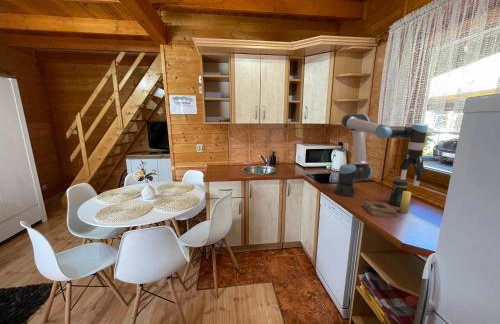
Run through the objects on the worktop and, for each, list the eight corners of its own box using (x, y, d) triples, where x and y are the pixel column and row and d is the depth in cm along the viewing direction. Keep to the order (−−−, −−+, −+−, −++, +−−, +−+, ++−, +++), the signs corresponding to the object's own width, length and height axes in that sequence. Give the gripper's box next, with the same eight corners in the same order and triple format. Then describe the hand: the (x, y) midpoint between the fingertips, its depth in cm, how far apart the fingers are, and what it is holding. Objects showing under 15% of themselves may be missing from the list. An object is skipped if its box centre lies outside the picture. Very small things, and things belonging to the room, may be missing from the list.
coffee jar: (405, 207, 144) (410, 181, 140) (393, 206, 146) (397, 180, 142) (399, 202, 153) (404, 178, 149) (387, 200, 155) (391, 177, 151)
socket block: (363, 206, 144) (364, 201, 143) (384, 208, 142) (385, 202, 141) (372, 215, 130) (373, 209, 130) (396, 217, 129) (397, 211, 128)
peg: (397, 210, 139) (401, 190, 136) (404, 211, 138) (408, 191, 135) (401, 213, 134) (405, 193, 132) (409, 214, 134) (413, 193, 131)
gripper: (397, 146, 140) (392, 176, 144) (422, 152, 116) (415, 188, 120) (409, 146, 139) (403, 177, 143) (437, 152, 115) (429, 189, 119)
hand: (409, 182), depth 132 cm, fingers open, 13 cm apart
